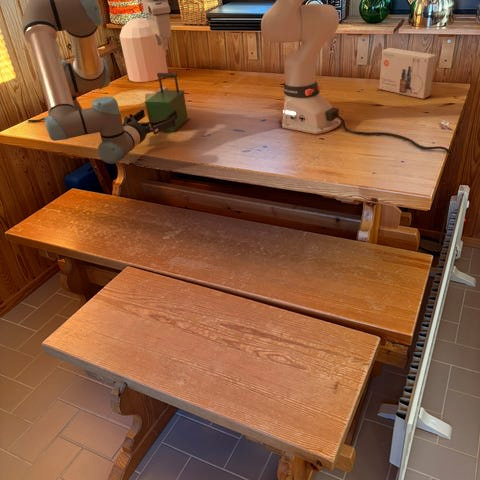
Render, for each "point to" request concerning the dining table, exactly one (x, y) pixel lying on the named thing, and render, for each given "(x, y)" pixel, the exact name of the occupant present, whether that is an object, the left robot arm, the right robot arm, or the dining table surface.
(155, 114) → the chest
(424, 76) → the skincare box
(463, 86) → the dining table surface
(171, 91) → the lid
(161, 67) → the container
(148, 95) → the rock
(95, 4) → the left robot arm
